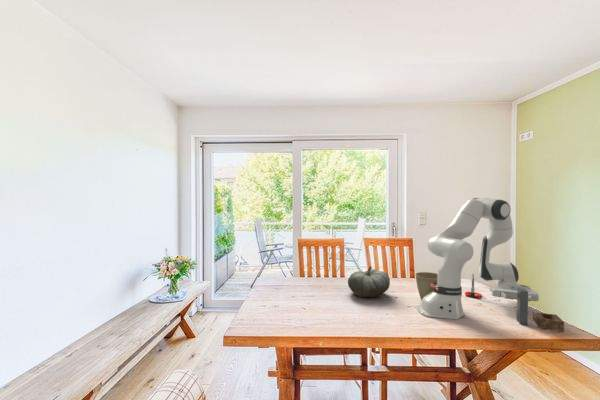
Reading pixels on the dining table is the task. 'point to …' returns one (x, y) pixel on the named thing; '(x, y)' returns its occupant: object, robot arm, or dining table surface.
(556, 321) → the brown square socket block
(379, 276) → the gourd
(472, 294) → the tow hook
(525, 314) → the gray rectangular bar
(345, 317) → the dining table surface
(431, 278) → the plant pot
